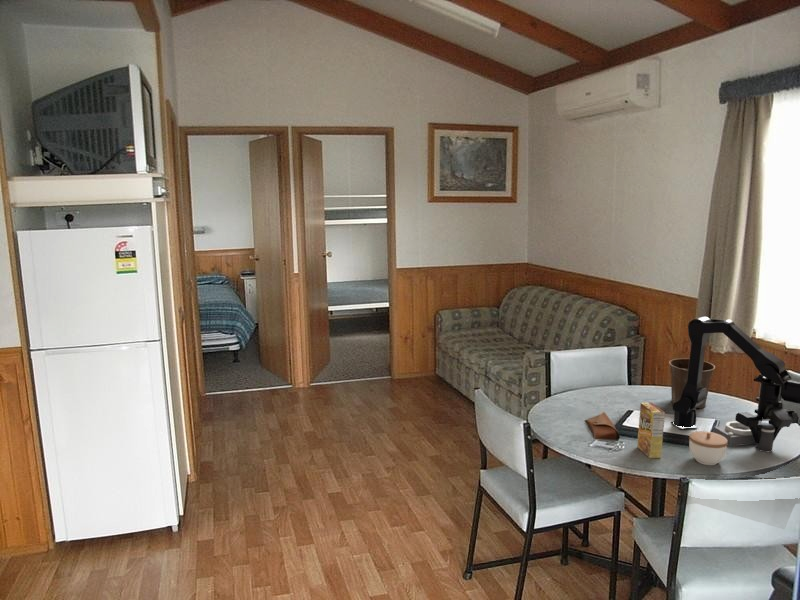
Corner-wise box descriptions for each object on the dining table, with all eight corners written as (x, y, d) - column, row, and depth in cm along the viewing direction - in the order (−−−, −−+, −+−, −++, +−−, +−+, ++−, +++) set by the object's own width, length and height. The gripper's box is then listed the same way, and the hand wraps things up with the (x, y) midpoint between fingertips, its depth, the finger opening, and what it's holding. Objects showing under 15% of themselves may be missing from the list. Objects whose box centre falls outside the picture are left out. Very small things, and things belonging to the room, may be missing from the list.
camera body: (730, 445, 210) (731, 432, 209) (712, 434, 219) (714, 422, 218) (765, 442, 212) (767, 430, 212) (747, 432, 221) (748, 419, 220)
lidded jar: (716, 454, 204) (719, 426, 202) (731, 469, 194) (734, 440, 192) (682, 453, 205) (684, 425, 203) (695, 468, 194) (697, 439, 192)
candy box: (636, 447, 210) (639, 402, 207) (648, 446, 210) (652, 402, 207) (649, 458, 201) (652, 412, 198) (662, 457, 201) (665, 411, 199)
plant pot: (711, 414, 238) (715, 372, 235) (664, 407, 245) (667, 367, 242) (711, 400, 253) (715, 361, 249) (667, 394, 259) (670, 356, 256)
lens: (762, 452, 205) (764, 428, 204) (751, 446, 210) (753, 422, 208) (776, 451, 206) (778, 427, 204) (764, 445, 211) (767, 421, 209)
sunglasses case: (582, 419, 233) (592, 404, 232) (598, 429, 234) (609, 414, 232) (594, 439, 216) (605, 423, 214) (612, 449, 216) (623, 434, 215)
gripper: (761, 407, 195) (756, 455, 198) (815, 403, 198) (809, 450, 201) (736, 395, 206) (731, 441, 209) (787, 392, 209) (782, 436, 212)
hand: (764, 442), depth 208 cm, fingers closed on lens, 5 cm apart
